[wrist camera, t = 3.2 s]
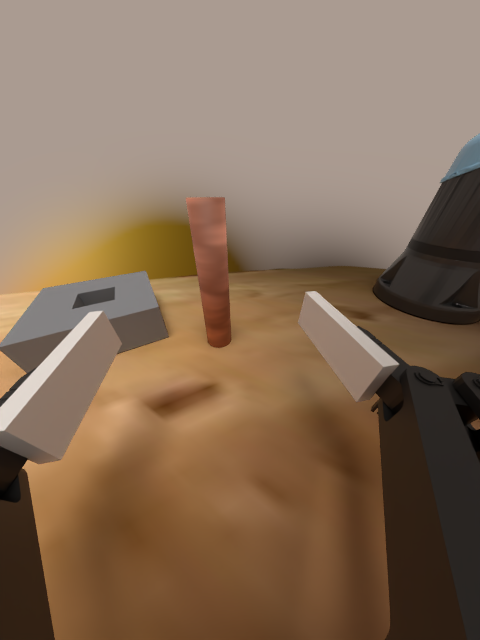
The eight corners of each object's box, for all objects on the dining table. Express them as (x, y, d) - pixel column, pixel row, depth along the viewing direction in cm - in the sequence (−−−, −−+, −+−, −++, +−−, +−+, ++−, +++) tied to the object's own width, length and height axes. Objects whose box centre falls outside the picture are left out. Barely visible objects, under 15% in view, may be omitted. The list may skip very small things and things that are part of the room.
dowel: (224, 329, 26) (215, 197, 16) (235, 342, 23) (231, 197, 14) (204, 336, 24) (181, 197, 15) (213, 350, 22) (192, 198, 13)
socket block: (153, 295, 34) (145, 270, 31) (168, 336, 24) (158, 306, 21) (63, 316, 29) (42, 288, 26) (35, 380, 19) (-3, 347, 16)
